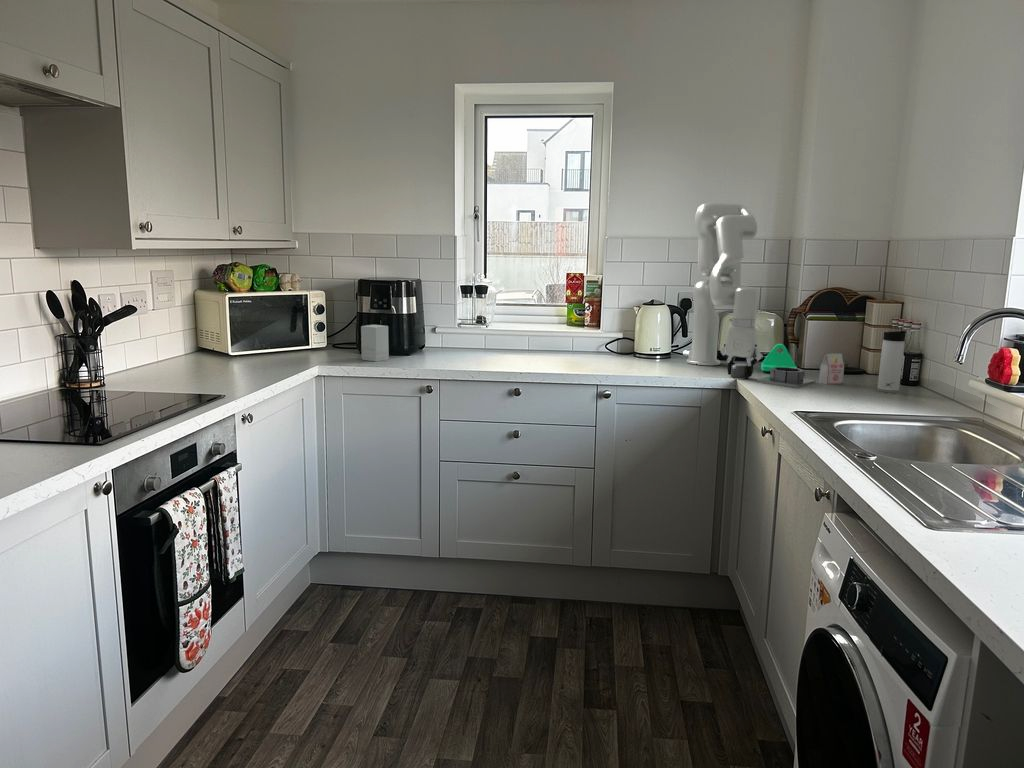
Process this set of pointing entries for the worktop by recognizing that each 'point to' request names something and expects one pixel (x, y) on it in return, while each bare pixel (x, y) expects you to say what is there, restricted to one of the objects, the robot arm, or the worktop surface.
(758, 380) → the grey square base
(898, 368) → the travel mug
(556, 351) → the worktop surface
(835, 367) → the milk carton
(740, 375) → the dark grey rounded block
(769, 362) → the green triangle piece
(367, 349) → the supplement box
